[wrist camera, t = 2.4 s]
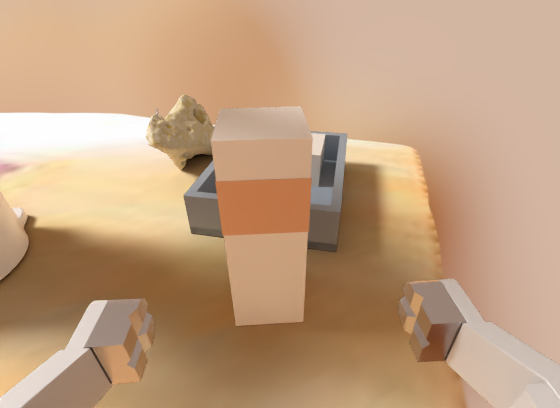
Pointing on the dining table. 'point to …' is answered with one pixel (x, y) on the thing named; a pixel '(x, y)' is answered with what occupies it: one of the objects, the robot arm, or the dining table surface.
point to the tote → (322, 203)
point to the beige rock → (182, 131)
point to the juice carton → (264, 209)
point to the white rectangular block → (317, 158)
